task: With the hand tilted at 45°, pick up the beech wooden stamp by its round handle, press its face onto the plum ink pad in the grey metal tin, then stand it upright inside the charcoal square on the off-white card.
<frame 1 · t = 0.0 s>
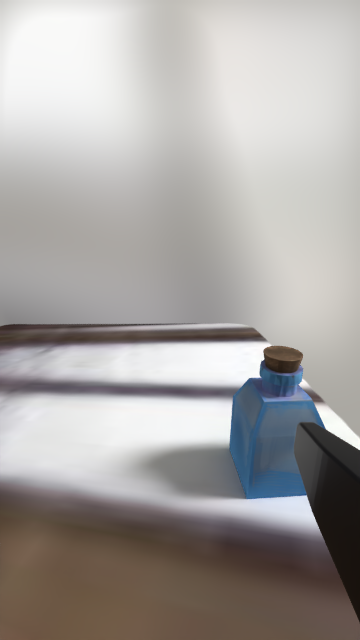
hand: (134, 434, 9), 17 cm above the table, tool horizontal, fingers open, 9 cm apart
perfume bottle: (269, 471, 29), on the table
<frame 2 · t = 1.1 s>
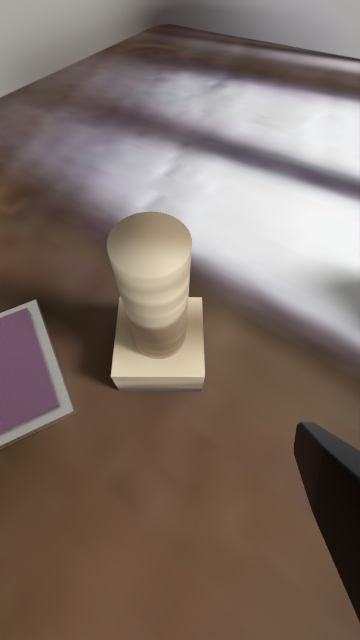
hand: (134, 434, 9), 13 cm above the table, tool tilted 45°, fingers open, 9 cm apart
stamp: (161, 353, 24), on the table
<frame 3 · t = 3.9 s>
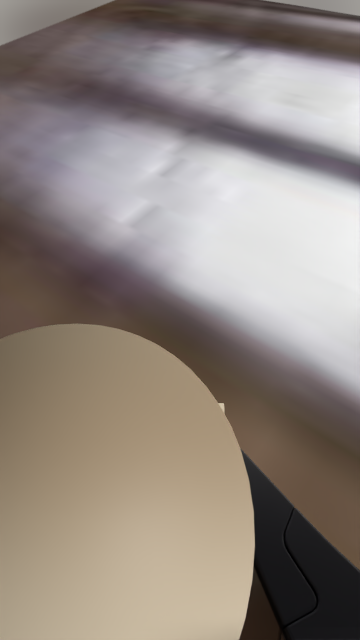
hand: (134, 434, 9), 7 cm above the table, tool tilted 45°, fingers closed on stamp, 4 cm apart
stamp: (149, 489, 14), on the table, touching gripper
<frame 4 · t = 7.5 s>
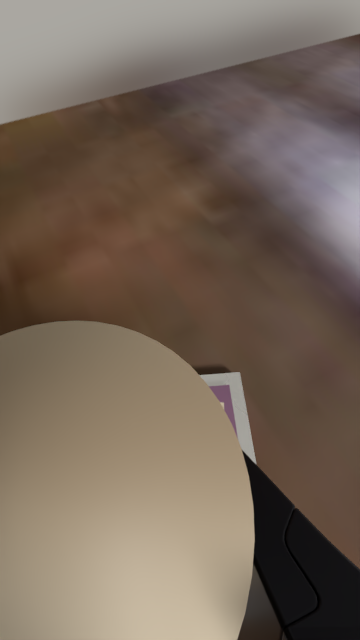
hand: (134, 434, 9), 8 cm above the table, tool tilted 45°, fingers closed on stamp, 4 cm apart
ink pad: (151, 485, 15), on the table
stamp: (149, 488, 14), point 1 cm above the table, touching gripper, ink pad
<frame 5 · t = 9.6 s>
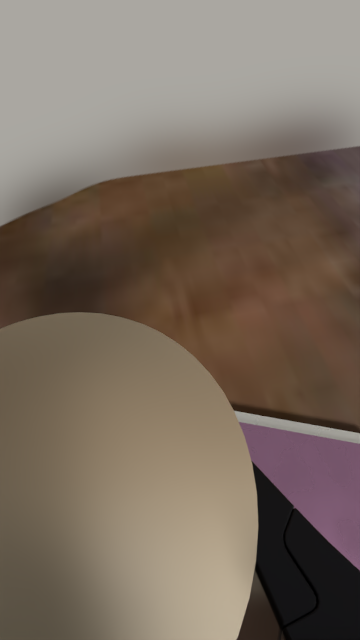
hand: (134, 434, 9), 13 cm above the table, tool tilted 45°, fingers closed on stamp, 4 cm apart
ink pad: (293, 506, 19), on the table
stamp: (150, 492, 14), point 7 cm above the table, touching gripper
when the fingers open (8 cm above the table, at t = 11.5 s): stamp drops 1 cm, resting on marked card.
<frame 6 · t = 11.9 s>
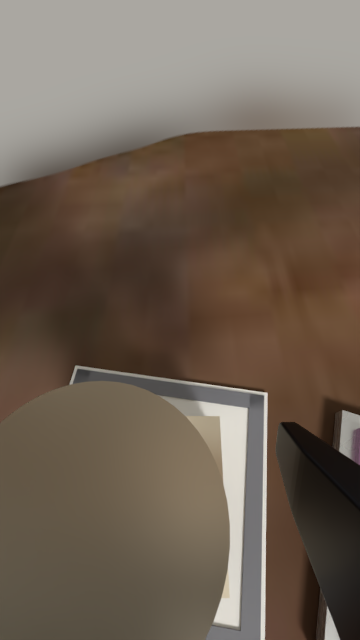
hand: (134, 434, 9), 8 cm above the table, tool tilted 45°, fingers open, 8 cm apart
marked card: (152, 488, 15), on the table
stamp: (151, 493, 15), resting on marked card
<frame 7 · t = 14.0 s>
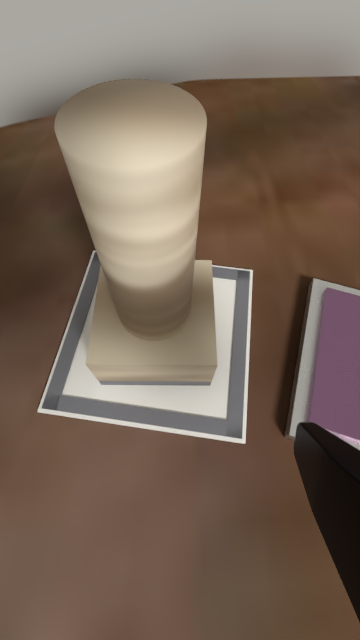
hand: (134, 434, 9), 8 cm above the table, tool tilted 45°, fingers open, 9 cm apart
marked card: (158, 333, 19), on the table
stamp: (157, 335, 18), resting on marked card
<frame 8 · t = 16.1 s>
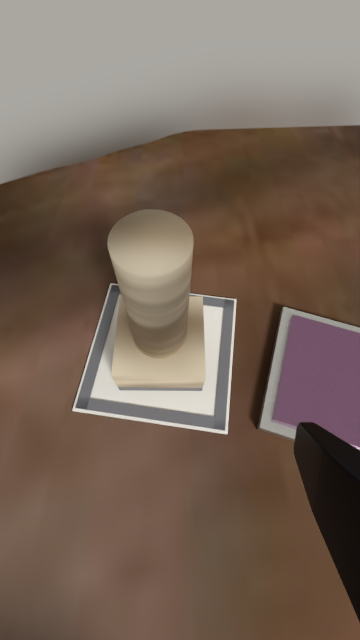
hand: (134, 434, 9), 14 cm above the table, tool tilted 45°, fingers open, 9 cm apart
ink pad: (335, 384, 23), on the table
marked card: (162, 350, 24), on the table
stamp: (162, 352, 24), resting on marked card
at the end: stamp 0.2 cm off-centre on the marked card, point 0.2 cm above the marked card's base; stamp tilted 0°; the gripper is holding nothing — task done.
